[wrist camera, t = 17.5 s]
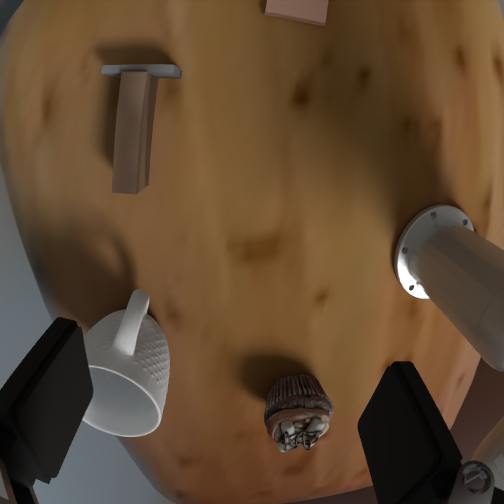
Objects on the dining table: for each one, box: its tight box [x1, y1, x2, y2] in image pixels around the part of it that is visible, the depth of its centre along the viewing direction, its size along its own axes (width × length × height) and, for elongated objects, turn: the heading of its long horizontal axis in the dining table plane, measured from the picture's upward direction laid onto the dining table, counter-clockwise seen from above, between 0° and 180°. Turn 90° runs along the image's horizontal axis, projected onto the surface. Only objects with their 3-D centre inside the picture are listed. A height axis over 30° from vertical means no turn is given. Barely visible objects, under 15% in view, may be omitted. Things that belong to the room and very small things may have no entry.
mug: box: [82, 290, 170, 437], centre depth 32 cm, size 15×11×13 cm
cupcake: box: [264, 374, 334, 452], centre depth 40 cm, size 10×10×10 cm
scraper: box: [101, 64, 182, 194], centre depth 28 cm, size 7×12×4 cm, turn 173°
